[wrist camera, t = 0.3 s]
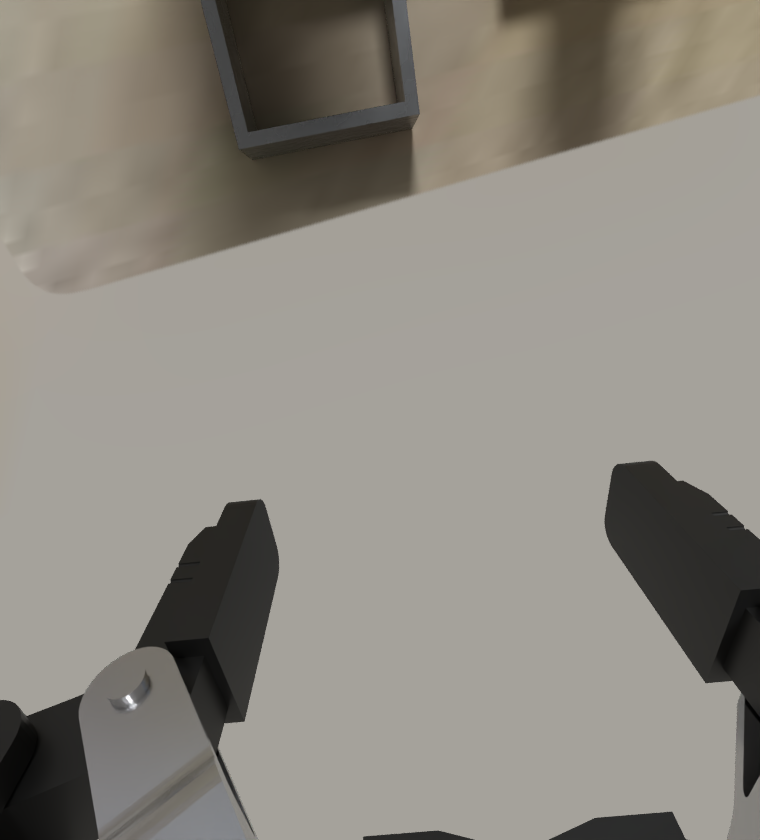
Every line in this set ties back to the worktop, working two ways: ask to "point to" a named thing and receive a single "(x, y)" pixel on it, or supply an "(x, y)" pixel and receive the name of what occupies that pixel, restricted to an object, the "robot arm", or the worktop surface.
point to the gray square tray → (321, 128)
